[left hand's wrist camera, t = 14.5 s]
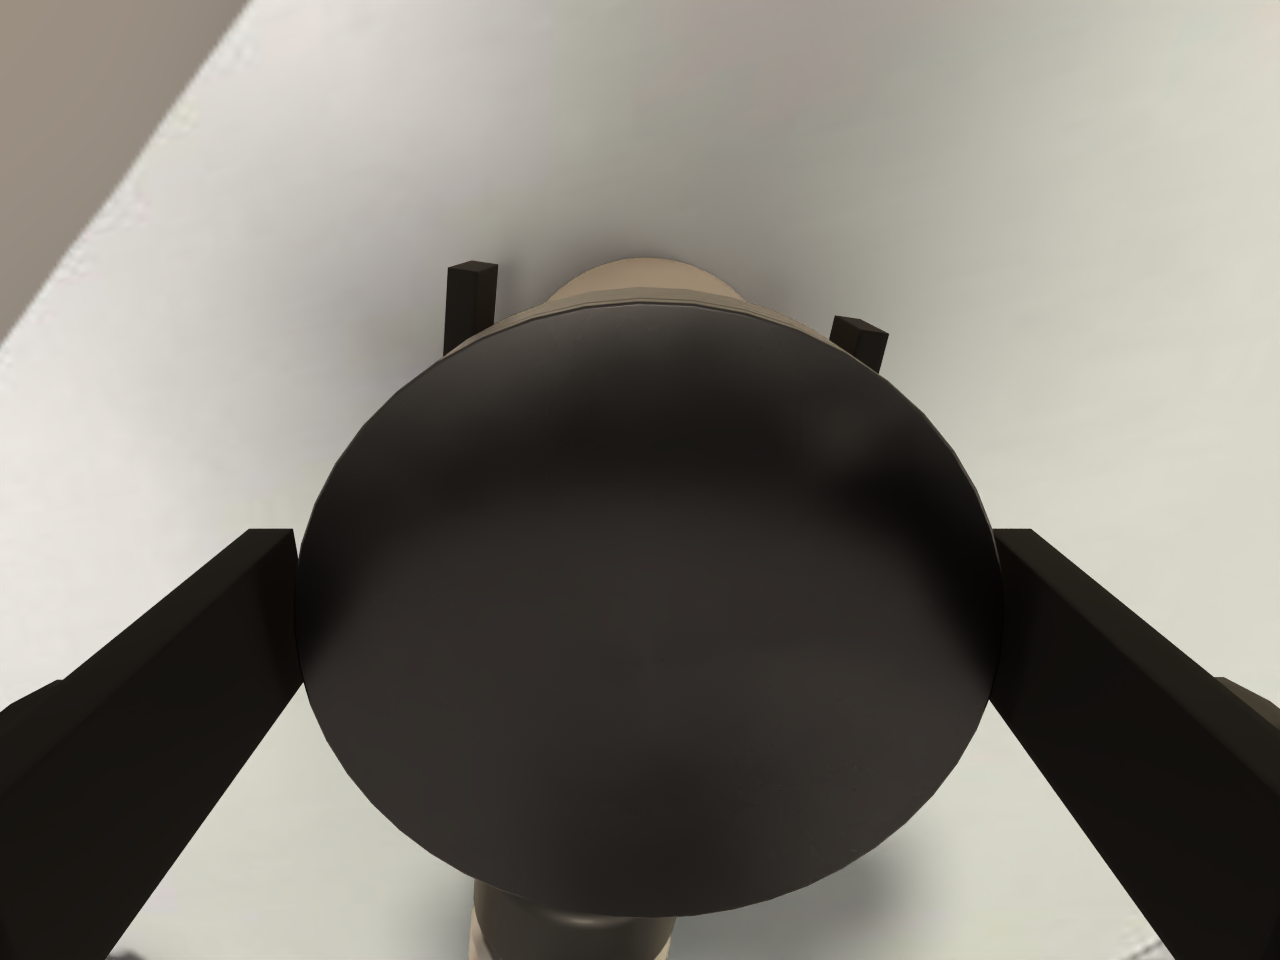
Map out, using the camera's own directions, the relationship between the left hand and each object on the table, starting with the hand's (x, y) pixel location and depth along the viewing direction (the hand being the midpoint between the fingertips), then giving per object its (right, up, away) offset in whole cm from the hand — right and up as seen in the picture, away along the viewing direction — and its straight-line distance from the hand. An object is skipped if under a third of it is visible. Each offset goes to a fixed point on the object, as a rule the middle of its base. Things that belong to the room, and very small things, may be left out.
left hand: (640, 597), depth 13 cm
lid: (0, -1, -2) cm, 2 cm away
